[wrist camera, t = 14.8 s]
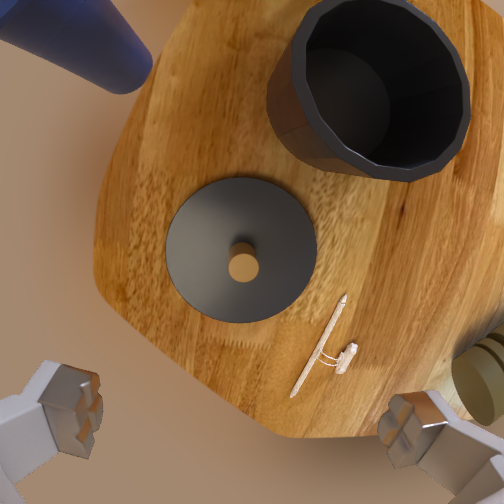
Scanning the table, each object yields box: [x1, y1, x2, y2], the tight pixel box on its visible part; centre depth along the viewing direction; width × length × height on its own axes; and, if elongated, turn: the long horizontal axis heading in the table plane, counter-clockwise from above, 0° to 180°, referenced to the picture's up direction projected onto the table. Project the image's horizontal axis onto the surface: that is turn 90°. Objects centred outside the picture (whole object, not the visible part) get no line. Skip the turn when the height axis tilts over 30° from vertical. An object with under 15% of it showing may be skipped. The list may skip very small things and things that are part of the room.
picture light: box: [290, 294, 357, 398], centre depth 33 cm, size 14×4×2 cm, turn 159°
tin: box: [267, 0, 471, 183], centre depth 21 cm, size 13×13×12 cm
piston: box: [452, 322, 504, 426], centre depth 31 cm, size 11×12×11 cm
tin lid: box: [165, 177, 317, 323], centre depth 27 cm, size 14×14×5 cm
